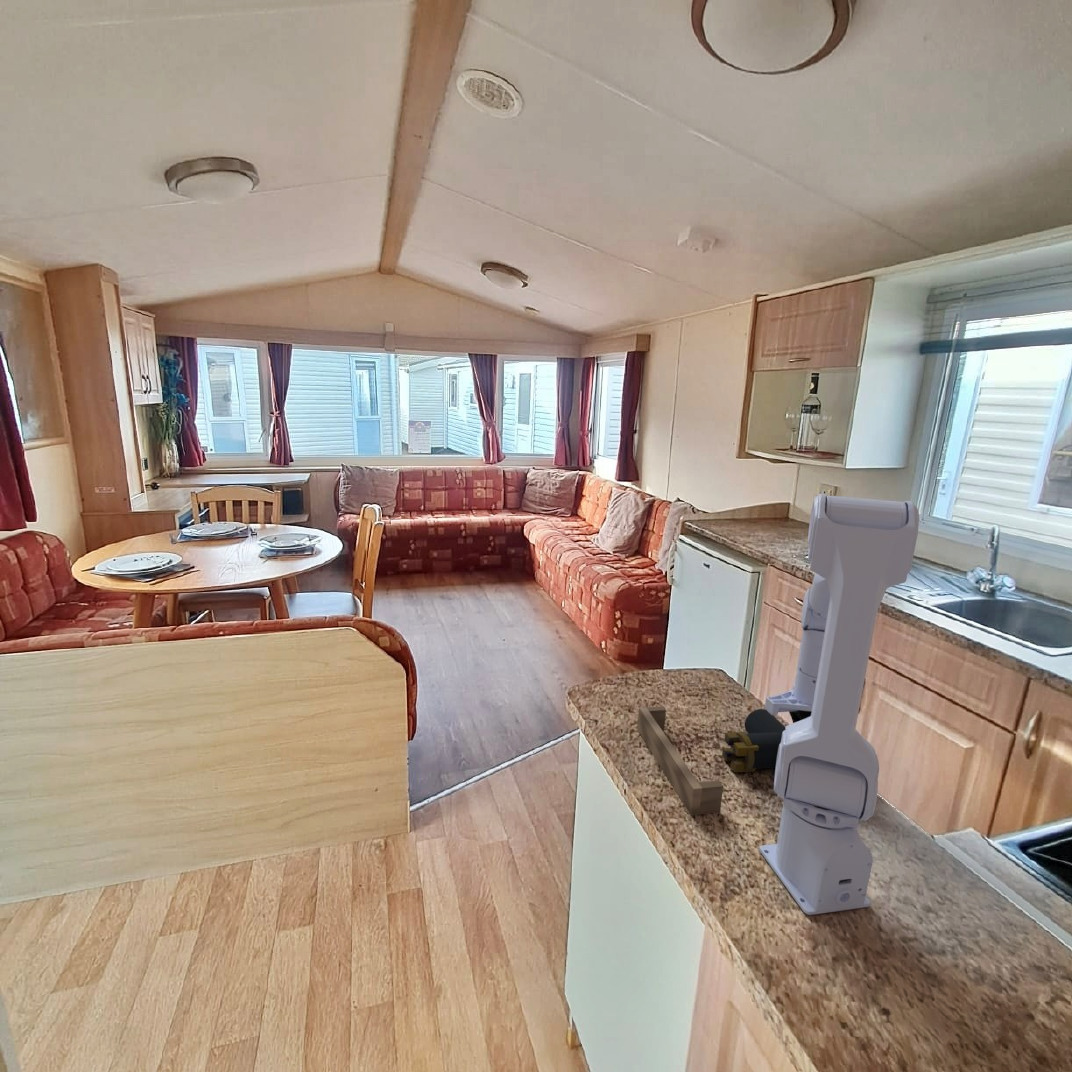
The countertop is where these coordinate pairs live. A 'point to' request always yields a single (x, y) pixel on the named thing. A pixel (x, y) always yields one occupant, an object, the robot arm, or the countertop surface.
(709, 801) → the stop rail
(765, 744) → the pipe connector
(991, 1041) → the countertop surface
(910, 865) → the countertop surface
